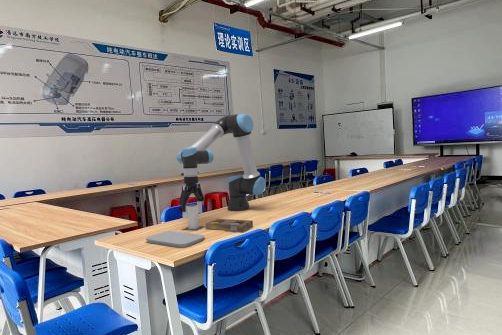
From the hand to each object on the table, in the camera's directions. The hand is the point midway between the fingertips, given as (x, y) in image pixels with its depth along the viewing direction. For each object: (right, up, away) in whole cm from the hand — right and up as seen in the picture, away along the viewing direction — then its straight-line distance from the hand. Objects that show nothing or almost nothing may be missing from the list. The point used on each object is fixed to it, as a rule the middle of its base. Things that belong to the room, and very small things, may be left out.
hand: (192, 215), depth 189 cm
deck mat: (+1, -7, +1) cm, 7 cm away
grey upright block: (0, -7, +1) cm, 7 cm away
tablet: (-5, -10, -22) cm, 25 cm away
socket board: (+20, -7, -3) cm, 21 cm away
